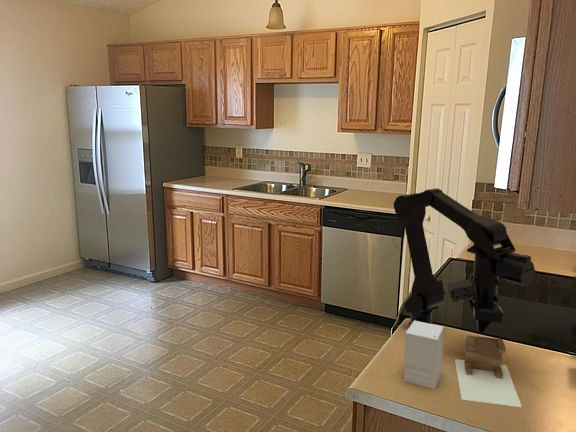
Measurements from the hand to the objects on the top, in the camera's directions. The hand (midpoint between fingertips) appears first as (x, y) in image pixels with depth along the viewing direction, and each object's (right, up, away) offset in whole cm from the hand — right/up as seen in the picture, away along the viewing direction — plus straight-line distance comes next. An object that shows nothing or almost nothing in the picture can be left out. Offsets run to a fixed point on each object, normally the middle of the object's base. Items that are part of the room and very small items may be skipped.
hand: (480, 332), depth 117 cm
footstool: (-2, -8, -5) cm, 10 cm away
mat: (-3, -9, -9) cm, 13 cm away
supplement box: (-17, -9, -7) cm, 20 cm away
